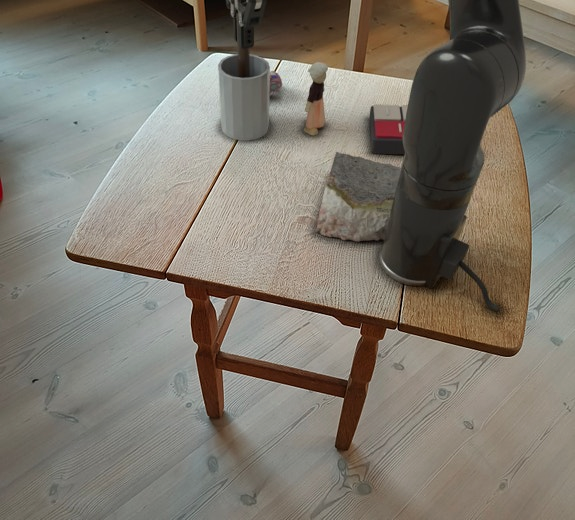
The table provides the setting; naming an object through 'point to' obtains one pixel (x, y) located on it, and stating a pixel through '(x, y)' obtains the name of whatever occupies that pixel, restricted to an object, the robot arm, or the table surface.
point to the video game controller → (275, 81)
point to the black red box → (387, 128)
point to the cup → (244, 98)
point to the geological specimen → (357, 199)
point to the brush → (242, 56)
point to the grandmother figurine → (316, 99)
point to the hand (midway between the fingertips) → (243, 43)
